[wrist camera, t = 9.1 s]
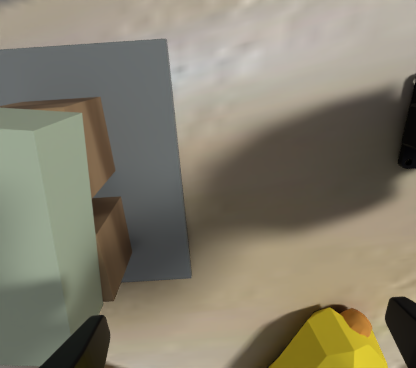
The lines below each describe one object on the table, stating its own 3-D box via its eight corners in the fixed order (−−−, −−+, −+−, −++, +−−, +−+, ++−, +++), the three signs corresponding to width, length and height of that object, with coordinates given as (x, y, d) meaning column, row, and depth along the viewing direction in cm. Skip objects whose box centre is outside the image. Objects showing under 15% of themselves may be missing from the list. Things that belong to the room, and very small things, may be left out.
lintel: (82, 112, 13) (33, 130, 9) (103, 304, 18) (76, 367, 14) (-29, 105, 13) (-124, 121, 9) (22, 301, 17) (-26, 364, 14)
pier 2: (120, 196, 20) (96, 234, 15) (132, 252, 22) (113, 301, 17) (53, 200, 20) (8, 240, 16) (70, 256, 22) (35, 305, 17)
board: (166, 39, 17) (165, 38, 16) (191, 273, 24) (191, 278, 23) (-62, 54, 17) (-71, 54, 16) (30, 282, 24) (27, 288, 23)
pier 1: (100, 96, 17) (63, 107, 13) (115, 170, 19) (88, 203, 15) (21, 101, 17) (-44, 114, 13) (45, 175, 19) (-5, 208, 15)
